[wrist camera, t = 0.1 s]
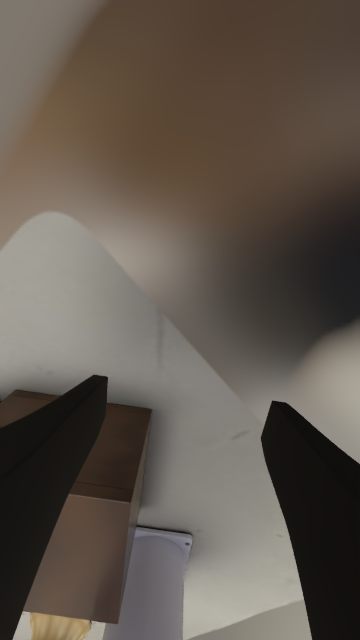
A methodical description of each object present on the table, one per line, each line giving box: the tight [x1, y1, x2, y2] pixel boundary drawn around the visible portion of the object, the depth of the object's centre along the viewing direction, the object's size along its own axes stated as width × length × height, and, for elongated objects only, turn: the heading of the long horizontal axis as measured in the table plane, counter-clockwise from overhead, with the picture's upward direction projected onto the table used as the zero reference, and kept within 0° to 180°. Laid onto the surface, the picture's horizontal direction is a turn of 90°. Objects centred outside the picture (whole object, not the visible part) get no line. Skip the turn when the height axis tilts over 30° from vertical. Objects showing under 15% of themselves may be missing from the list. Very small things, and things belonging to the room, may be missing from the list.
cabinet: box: [0, 390, 152, 624], centre depth 21 cm, size 13×13×9 cm
